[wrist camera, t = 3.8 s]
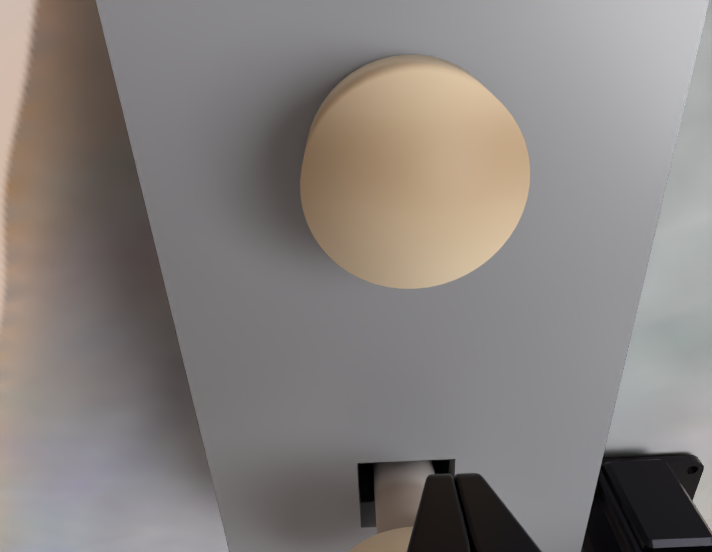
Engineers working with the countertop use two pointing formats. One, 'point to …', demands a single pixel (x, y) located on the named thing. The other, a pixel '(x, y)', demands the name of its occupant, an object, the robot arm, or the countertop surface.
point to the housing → (393, 305)
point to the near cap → (413, 173)
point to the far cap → (396, 504)
